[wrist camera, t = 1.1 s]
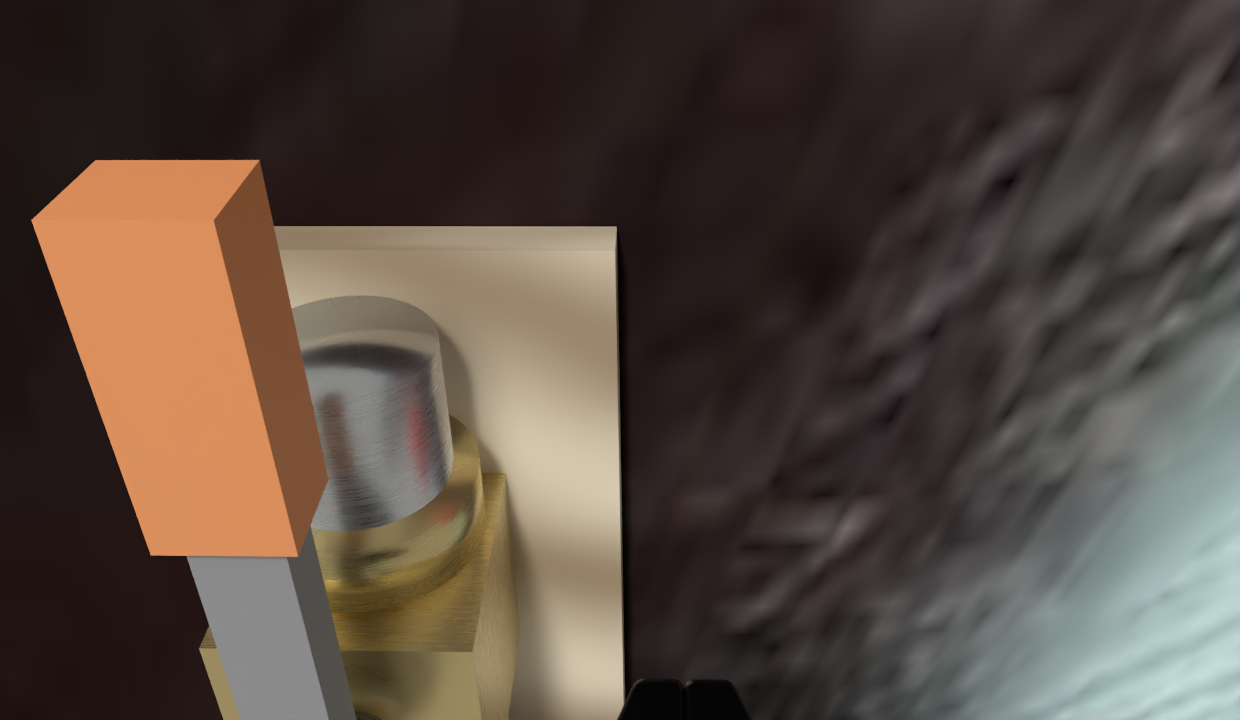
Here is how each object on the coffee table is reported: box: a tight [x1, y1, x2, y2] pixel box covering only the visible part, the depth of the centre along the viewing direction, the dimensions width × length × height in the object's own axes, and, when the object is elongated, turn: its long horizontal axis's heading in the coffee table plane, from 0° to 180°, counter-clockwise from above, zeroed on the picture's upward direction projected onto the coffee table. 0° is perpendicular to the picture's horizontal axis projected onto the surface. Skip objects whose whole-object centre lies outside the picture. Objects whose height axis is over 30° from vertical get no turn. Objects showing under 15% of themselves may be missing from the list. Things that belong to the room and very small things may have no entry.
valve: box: [199, 295, 520, 720], centre depth 23 cm, size 14×5×6 cm, turn 1°
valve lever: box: [32, 160, 356, 720], centre depth 16 cm, size 14×3×2 cm, turn 1°
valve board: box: [274, 226, 625, 720], centre depth 25 cm, size 16×10×1 cm, turn 1°
